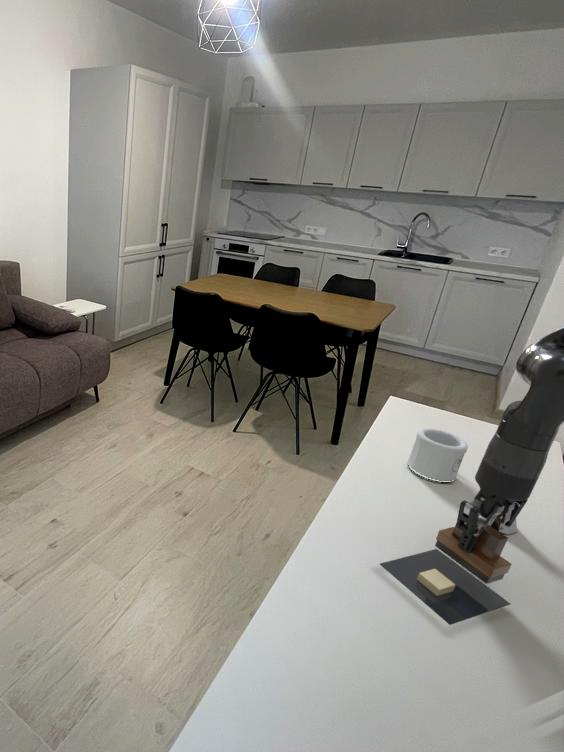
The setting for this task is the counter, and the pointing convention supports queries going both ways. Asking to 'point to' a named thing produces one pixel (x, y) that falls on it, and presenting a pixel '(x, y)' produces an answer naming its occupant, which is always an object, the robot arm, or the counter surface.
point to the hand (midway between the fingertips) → (474, 547)
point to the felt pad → (436, 582)
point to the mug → (437, 454)
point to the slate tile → (454, 605)
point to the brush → (477, 553)
